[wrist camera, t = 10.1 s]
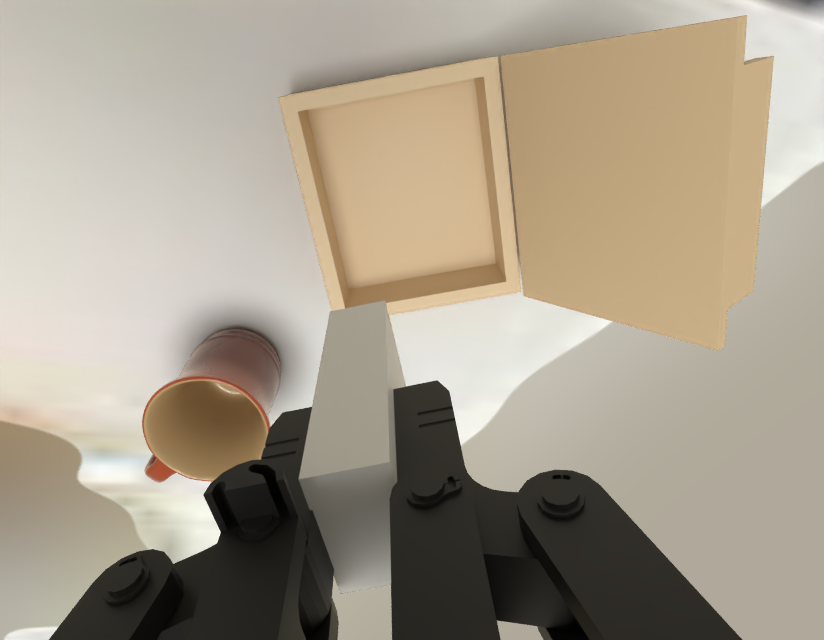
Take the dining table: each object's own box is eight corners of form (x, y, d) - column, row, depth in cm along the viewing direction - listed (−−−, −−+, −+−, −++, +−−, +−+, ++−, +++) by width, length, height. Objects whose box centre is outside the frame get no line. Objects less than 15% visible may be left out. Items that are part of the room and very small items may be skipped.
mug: (233, 295, 46) (195, 353, 37) (313, 362, 49) (296, 432, 40) (144, 384, 49) (87, 459, 40) (223, 443, 52) (188, 525, 43)
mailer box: (290, 94, 40) (278, 97, 36) (484, 57, 40) (497, 56, 35) (339, 299, 47) (335, 324, 42) (507, 269, 46) (521, 291, 42)
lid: (737, 17, 24) (780, 7, 26) (500, 56, 35) (542, 47, 36) (717, 350, 30) (752, 324, 32) (523, 295, 41) (558, 278, 43)
